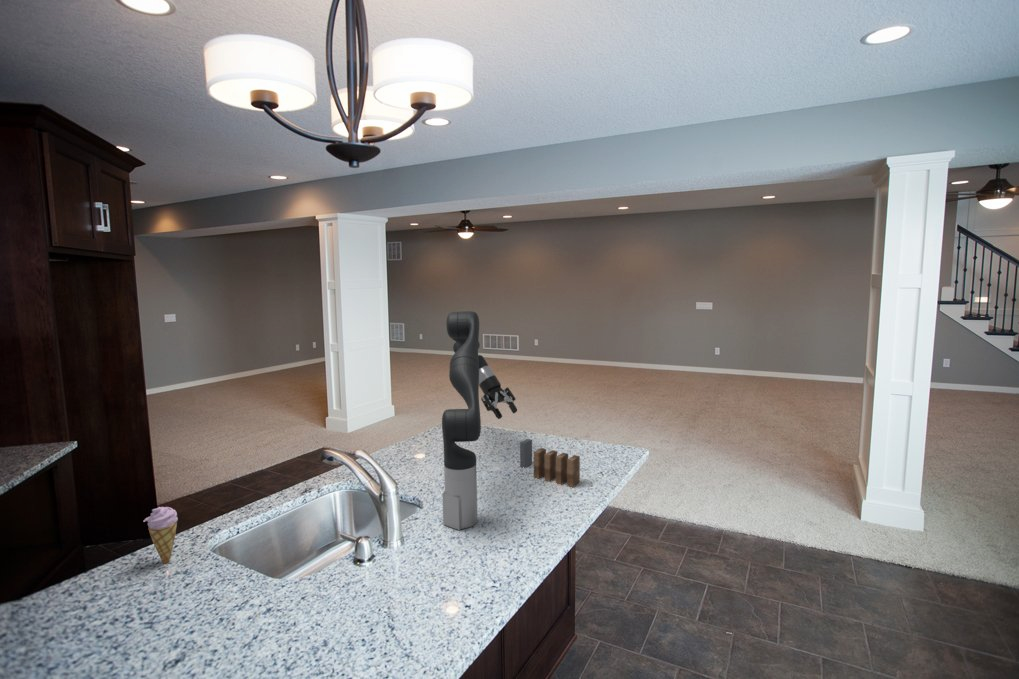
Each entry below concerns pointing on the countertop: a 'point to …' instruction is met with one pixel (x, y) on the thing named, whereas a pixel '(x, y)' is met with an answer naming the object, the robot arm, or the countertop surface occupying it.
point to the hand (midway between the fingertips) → (508, 415)
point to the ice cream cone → (163, 530)
